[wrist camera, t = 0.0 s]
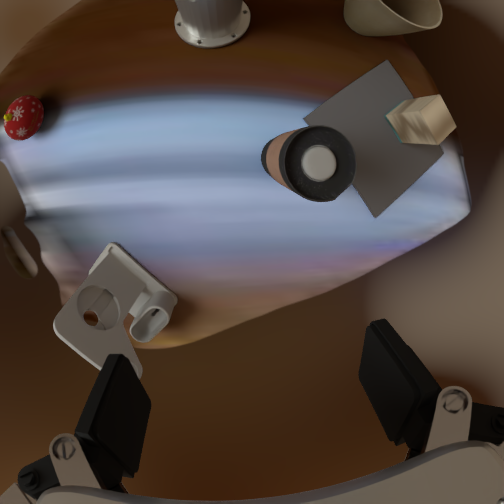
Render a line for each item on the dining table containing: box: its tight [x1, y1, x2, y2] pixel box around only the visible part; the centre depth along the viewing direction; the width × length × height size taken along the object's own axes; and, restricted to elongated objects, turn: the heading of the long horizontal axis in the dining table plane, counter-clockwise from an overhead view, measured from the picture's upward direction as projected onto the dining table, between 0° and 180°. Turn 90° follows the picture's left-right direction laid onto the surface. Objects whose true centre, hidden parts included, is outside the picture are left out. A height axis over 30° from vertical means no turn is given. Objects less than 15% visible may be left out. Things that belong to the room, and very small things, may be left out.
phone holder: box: [53, 242, 178, 379], centre depth 40 cm, size 17×10×18 cm, turn 44°
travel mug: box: [261, 125, 357, 202], centre depth 33 cm, size 8×8×20 cm
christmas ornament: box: [4, 95, 44, 140], centre depth 30 cm, size 9×9×10 cm
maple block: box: [384, 95, 456, 145], centre depth 35 cm, size 6×6×11 cm
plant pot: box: [344, 0, 442, 36], centre depth 26 cm, size 15×15×16 cm
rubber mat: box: [303, 60, 444, 218], centre depth 42 cm, size 22×22×1 cm
